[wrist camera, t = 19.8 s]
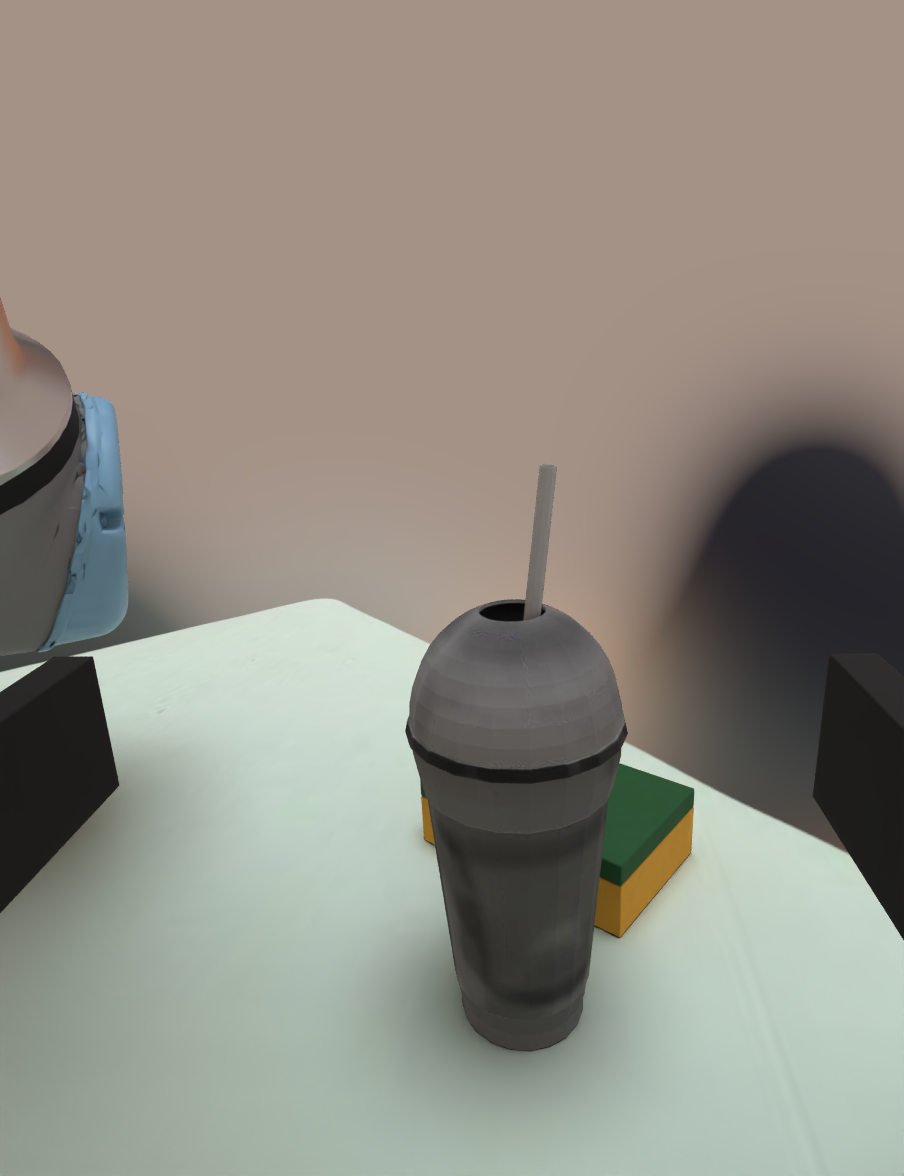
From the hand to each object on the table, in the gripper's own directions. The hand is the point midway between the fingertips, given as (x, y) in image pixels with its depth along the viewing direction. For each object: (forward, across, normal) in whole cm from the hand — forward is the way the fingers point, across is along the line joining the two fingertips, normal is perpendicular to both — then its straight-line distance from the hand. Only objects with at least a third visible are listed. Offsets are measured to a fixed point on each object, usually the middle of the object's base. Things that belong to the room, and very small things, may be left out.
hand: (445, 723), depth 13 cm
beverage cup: (+10, +1, -17) cm, 20 cm away
